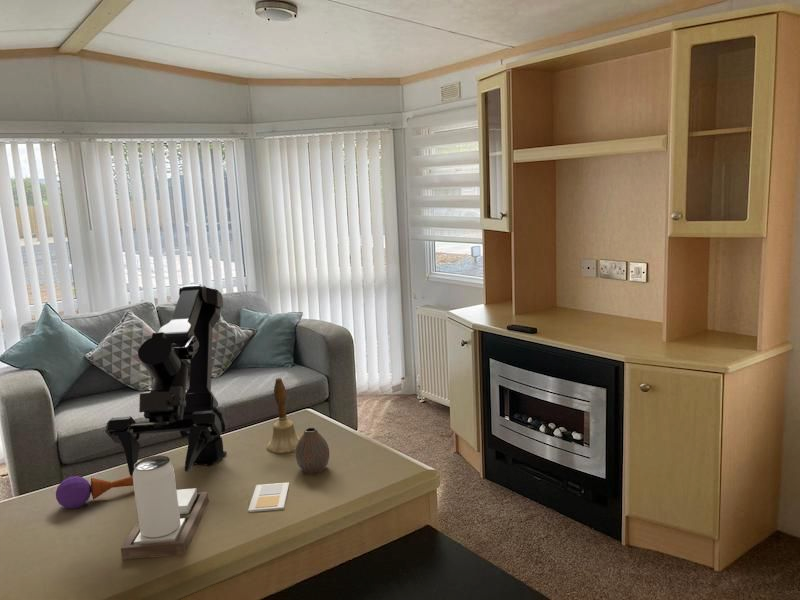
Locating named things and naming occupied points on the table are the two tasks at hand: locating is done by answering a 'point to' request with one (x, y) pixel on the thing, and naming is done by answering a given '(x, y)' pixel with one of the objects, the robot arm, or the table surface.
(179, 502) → the inner pad
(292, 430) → the hand bell
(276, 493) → the pattern card
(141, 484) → the can
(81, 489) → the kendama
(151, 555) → the button board
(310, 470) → the vase
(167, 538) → the outer pad
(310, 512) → the table surface
